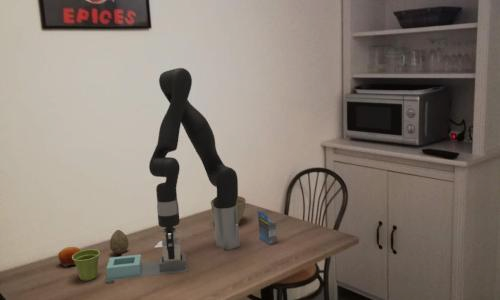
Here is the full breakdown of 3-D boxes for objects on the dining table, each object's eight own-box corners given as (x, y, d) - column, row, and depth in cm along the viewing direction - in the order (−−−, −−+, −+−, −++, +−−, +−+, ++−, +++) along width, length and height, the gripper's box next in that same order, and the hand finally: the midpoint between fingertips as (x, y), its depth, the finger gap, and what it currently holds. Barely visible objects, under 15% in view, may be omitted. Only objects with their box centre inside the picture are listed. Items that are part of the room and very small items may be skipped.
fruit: (60, 268, 170) (57, 247, 173) (60, 271, 177) (57, 251, 179) (83, 263, 174) (80, 242, 176) (82, 266, 181) (78, 247, 183)
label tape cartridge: (277, 242, 188) (276, 214, 186) (268, 244, 186) (267, 215, 184) (266, 236, 196) (265, 208, 194) (258, 238, 194) (257, 210, 192)
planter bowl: (211, 218, 222) (210, 197, 220) (244, 216, 223) (243, 194, 221) (212, 230, 206) (211, 207, 204) (248, 227, 207) (247, 204, 205)
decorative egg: (120, 248, 190) (118, 225, 188) (133, 251, 186) (130, 228, 184) (107, 255, 184) (104, 231, 182) (120, 258, 180) (117, 234, 178)
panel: (186, 260, 175) (185, 248, 174) (187, 274, 164) (186, 261, 163) (110, 268, 171) (109, 256, 170) (106, 283, 160) (104, 270, 159)
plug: (180, 262, 171) (178, 237, 169) (181, 267, 167) (179, 241, 165) (164, 264, 170) (162, 239, 168) (164, 269, 166) (162, 243, 164)
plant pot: (102, 280, 162) (99, 257, 161) (73, 285, 160) (70, 261, 158) (102, 269, 171) (100, 247, 169) (75, 274, 168) (73, 251, 167)
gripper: (178, 217, 158) (182, 261, 161) (178, 205, 172) (181, 245, 175) (156, 219, 157) (160, 263, 160) (158, 206, 171) (161, 247, 174)
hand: (171, 254), depth 168 cm, fingers open, 8 cm apart
